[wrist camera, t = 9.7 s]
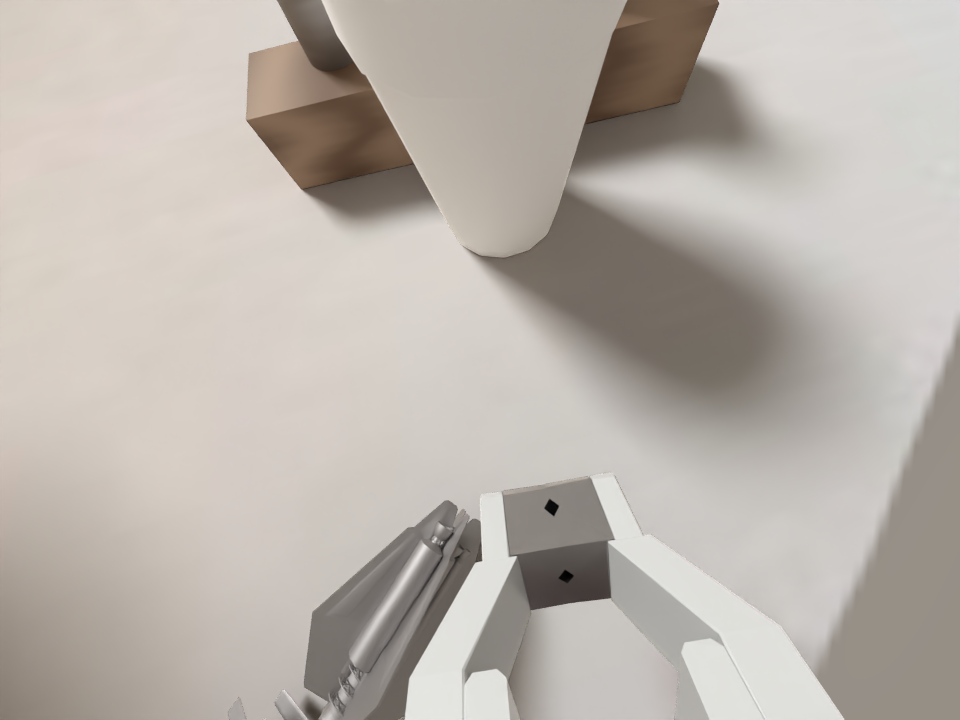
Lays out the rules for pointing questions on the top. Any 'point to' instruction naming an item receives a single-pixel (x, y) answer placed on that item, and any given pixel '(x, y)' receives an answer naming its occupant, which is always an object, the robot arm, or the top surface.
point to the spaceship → (384, 621)
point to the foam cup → (484, 101)
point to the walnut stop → (365, 124)
